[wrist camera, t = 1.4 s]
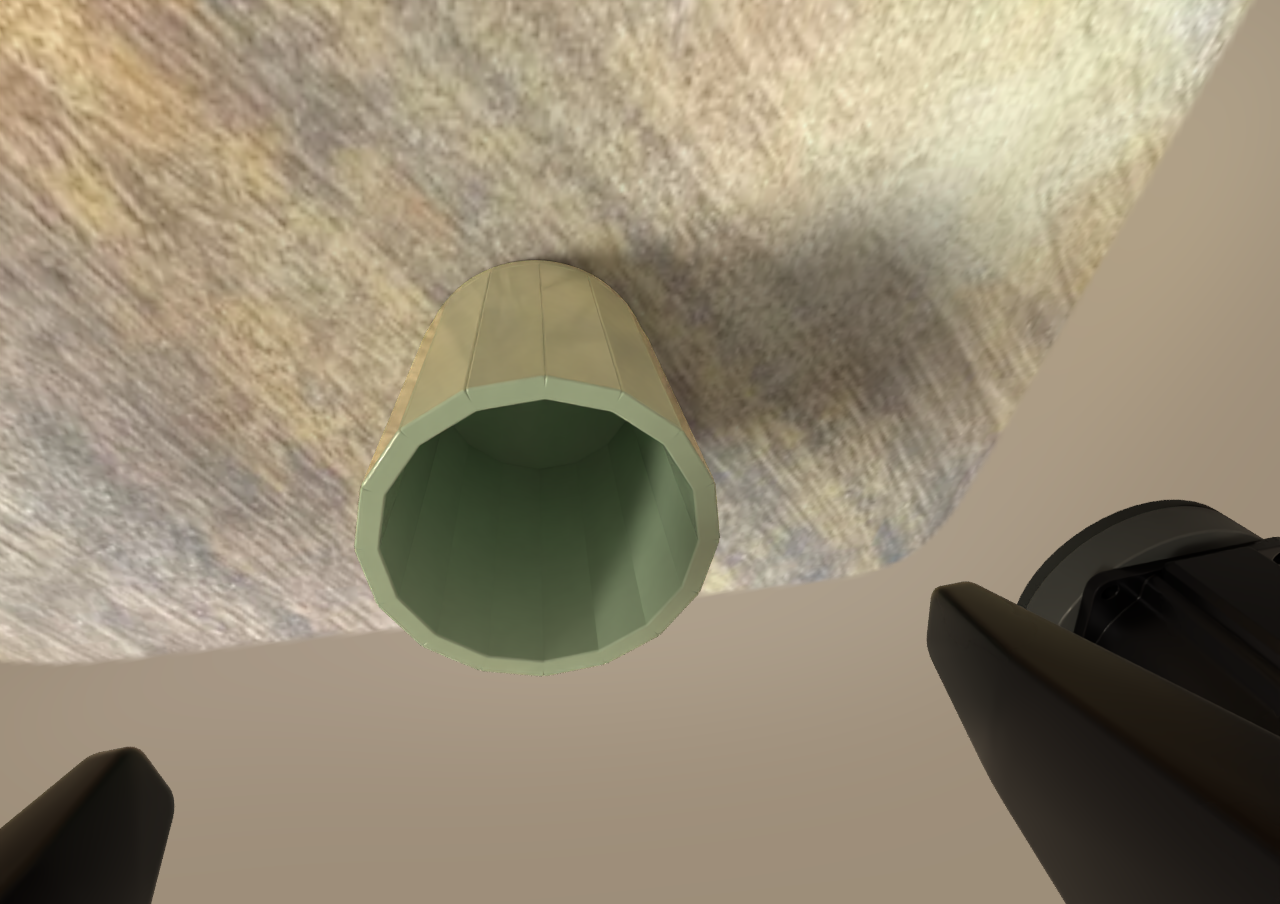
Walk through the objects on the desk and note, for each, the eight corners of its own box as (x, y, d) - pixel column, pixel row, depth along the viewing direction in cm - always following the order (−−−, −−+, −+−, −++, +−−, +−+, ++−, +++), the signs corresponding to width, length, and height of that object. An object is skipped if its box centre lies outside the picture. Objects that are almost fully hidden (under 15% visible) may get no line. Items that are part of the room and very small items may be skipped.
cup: (660, 449, 18) (729, 640, 12) (456, 485, 17) (416, 703, 11) (634, 241, 15) (704, 347, 9) (394, 280, 15) (298, 417, 9)
